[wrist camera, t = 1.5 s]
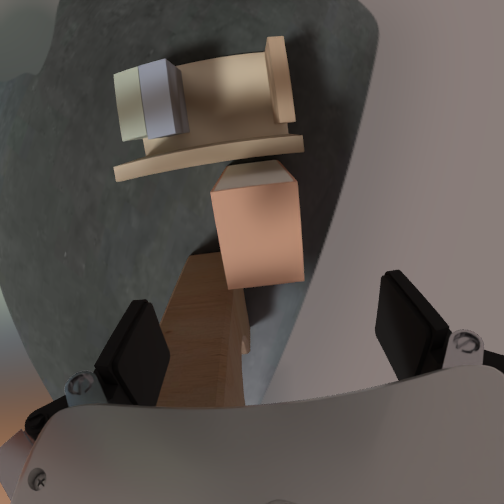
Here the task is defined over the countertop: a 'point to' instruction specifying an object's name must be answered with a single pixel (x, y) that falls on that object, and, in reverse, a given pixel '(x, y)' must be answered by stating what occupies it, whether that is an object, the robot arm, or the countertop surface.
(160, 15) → the countertop surface
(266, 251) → the tall pink rectangular prism
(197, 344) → the decorative block
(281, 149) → the shelf
